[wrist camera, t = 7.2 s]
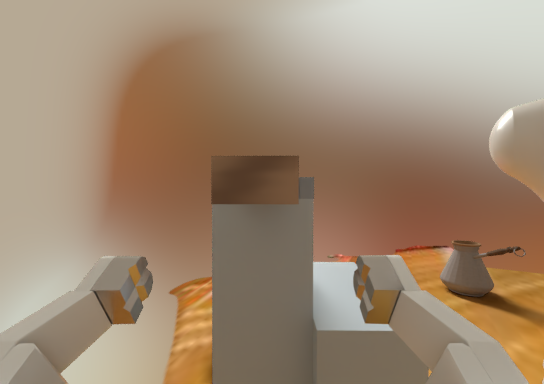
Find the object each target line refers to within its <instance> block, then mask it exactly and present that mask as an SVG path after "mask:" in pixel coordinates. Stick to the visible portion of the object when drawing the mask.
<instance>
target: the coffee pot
mask: <svg viewBox="0 0 544 384" xmlns="http://www.w3.org/2000/svg"><path fill="white" fill-rule="evenodd" d="M451 243H452V244H453V245H454V251H453V253H452V255H451V256H450V258H449V260H448V262H447V264H446V266H445V268H444V269H443V271H442V273H441V275H440V278H441V280H442V282H443V283H444V284H445V285H446V286H447V287H448V288H449V290H451V291H453V292H455V293H458V294H462V295H467V296H475V297H479V296H483V295H484V294H486V293H488V292H490V291H491V290H492V289H493V287H494V283H493V281H492V279H491V277H490V275H489V273H488V271H487V269H486V267H485V265H484V263H483V261H482V259H481V258H482V257H485V256H494V255H502V254H505V253H508V252H509V253H512V252H513V251H514V253H515V251H517V250H520V249H521V248H520V247H513V248H511V247H508V248H507V249H498V250H494V251H491V252H487V253H483V254H479V253H478V250H479V247H480V246H481V244H480V243H476V242H471V241H452V242H451ZM522 250H523V249H522ZM523 251H524V250H523ZM515 255H517V254H516V253H515ZM524 255H525V251H524ZM524 255H523V256H524ZM517 256H518V255H517Z"/></svg>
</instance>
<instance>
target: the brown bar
mask: <svg viewBox="0 0 544 384" xmlns="http://www.w3.org/2000/svg"><path fill="white" fill-rule="evenodd" d="M211 162H212V164H211V167H212V168H211V169H212V204H299V156H212V157H211Z"/></svg>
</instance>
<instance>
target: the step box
mask: <svg viewBox="0 0 544 384" xmlns="http://www.w3.org/2000/svg"><path fill="white" fill-rule="evenodd" d="M313 199H314V177H312V178H311V177H305V178H304V177H300V178H299V204H212V384H425V383H426V381H427V380H428V367H427V366H426V365H425V364H424V363H423V362H422V361H421V359H420V358H419V357H418V356H417V355H416V354H415V353H414V352H413V351H412V350H411V349H410V348H409V347H408V346H407V345H406V343H405V342H404V341H403V340H402V339H401V338H400V337H399V336H398V335H397V334H396V333H395V332H394V331H393V330H392V329H391V327H390V326H389V324H365V322H364V319H363V316H362V313H361V310H360V303H361V300H360V299H359V298H357V297H356V294H355V291H354V286H353V276H354V271H355V270H356V269H358V267H357V265H356V264H355V263H354V262H313Z"/></svg>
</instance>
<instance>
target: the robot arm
mask: <svg viewBox="0 0 544 384" xmlns="http://www.w3.org/2000/svg"><path fill="white" fill-rule="evenodd" d="M489 149H490V154H491V157H492V159H493V160H494V162H495V163H496V165H497V166H498V167H499V168H500V169H501V170H502V171H504V172H505V173H506V174H508V175H510V176H511V177H514V178H515V179H517V180H519V181H520V182H522V183H524V184H525V185H526V186H528V187H529V188H530V189H531V190H533V191H534V192H535V193H536V194H537V195H538V196H539V197H540V198H541V199H542V200H543V201H544V98H543V99H539V100H536V101H532V102H529V103H526V104H522V105H519V106H516V107H513V108H510V109H509V110H507V111H506V112H505V113H504V114H503V115H502V116H501V117H500V118H499V120H498V121H497V122H496V124H495V126H494V128H493V129H492V132H491V134H490V139H489ZM356 264H357V267H358V269H356V270H355V271H354V276H353V286H354V291H355V294H356V297H357V298H359V299H360V300H361V303H360V310H361V313H362V316H363V319H364V322H365V324H389V326H390V327H391V329H392V330H393V331H394V332H395V333H396V334H397V335H398V336H399V337H400V338H401V339H402V340H403V341H404V342H405V343H406V345H407V346H408V347H409V348H410V349H411V350H412V351H413V352H414V353H415V354H416V355H417V356H418V357H419V358H420V359H421V361H422V362H423V363H424V364H425V365H426V366H427V367H428V368H429V369H430V370H431V371H432V373H431V375H430V376H429V378H428V380H427V381H426V383H425V384H529V383H528V381H527V380H526V378H525V377H524V376H523V374H522V373H521V372H520V370H519V369H518V368H517V366H516V365H515V364H514V362H513V361H512V359H511V358H510V357H509V355H508V354H507V353H506V351H505V350H504V349H503V347H502V346H501V344H500V343H499V342H498V341H496V340H495V339H493V338H492V337H491V336H489V335H488V334H486V333H485V332H484V331H482V330H481V329H479V328H478V327H476V326H475V325H474V324H472V323H471V322H469V321H468V320H467V319H465V318H464V317H462V316H461V315H459V314H458V313H457V312H455V311H454V310H452V309H451V308H449V307H448V306H447V305H445V304H444V303H442V302H441V301H440V300H438V299H437V298H435V297H434V296H432V295H431V294H430V293H428V292H427V291H421V289H420V287H419V286H418V284H417V282H416V281H415V279H414V277H413V276H412V274H411V272H410V271H409V269H408V267H407V265H406V264H405V262H404V260H403V259H402V257H401V256H399V255H385V256H384V255H382V256H381V255H379V256H378V255H374V256H358V258H357V261H356ZM147 265H148V263H147V260H146V258H145V257H140V256H103V257H101V258H100V259H99V260H98V261H97V263H96V264H95V265H94V266H93V268H92V269H91V270H90V271H89V273H88V274H87V275H86V277H85V278H84V279H83V280H82V282H81V283H80V284H79V285H78V287H77V288H76V290H75V291H69V292H68V293H66V294H64V295H63V296H61V297H59V298H58V299H56V300H55V301H53V302H52V303H50V304H48V305H46V306H45V307H43V308H41V309H40V310H38V311H37V312H35V313H34V314H32V315H30V316H28V317H27V318H25V319H24V320H22V321H20V322H19V323H17V324H15V325H14V326H12V327H10V328H9V329H7V330H6V331H4V332H3V333H1V334H0V384H68V383H67V382H66V380H65V379H64V378H63V377H62V376H61V374H60V373H61V372H62V371H63V370H65V369H66V368H67V367H68V366H69V365H70V364H71V363H72V362H73V361H74V360H75V359H76V358H78V356H80V355H81V354H82V353H83V352H84V351H85V350H86V349H87V348H88V347H89V346H90V345H92V343H94V342H95V341H96V340H97V339H98V338H99V337H100V336H101V335H102V334H103V333H104V332H106V331H107V330H108V329H109V328H110V327H111V326H112V325H111V324H135V323H136V321H137V319H138V317H139V315H140V313H141V311H142V309H143V305H142V301H144V300H145V299H146V298H147V297H148V296H149V294H150V292H151V289H152V284H153V279H152V274H151V272H150V271H149V270H148V269H146V266H147ZM543 367H544V361H543ZM542 384H544V378H543V381H542Z"/></svg>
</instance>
